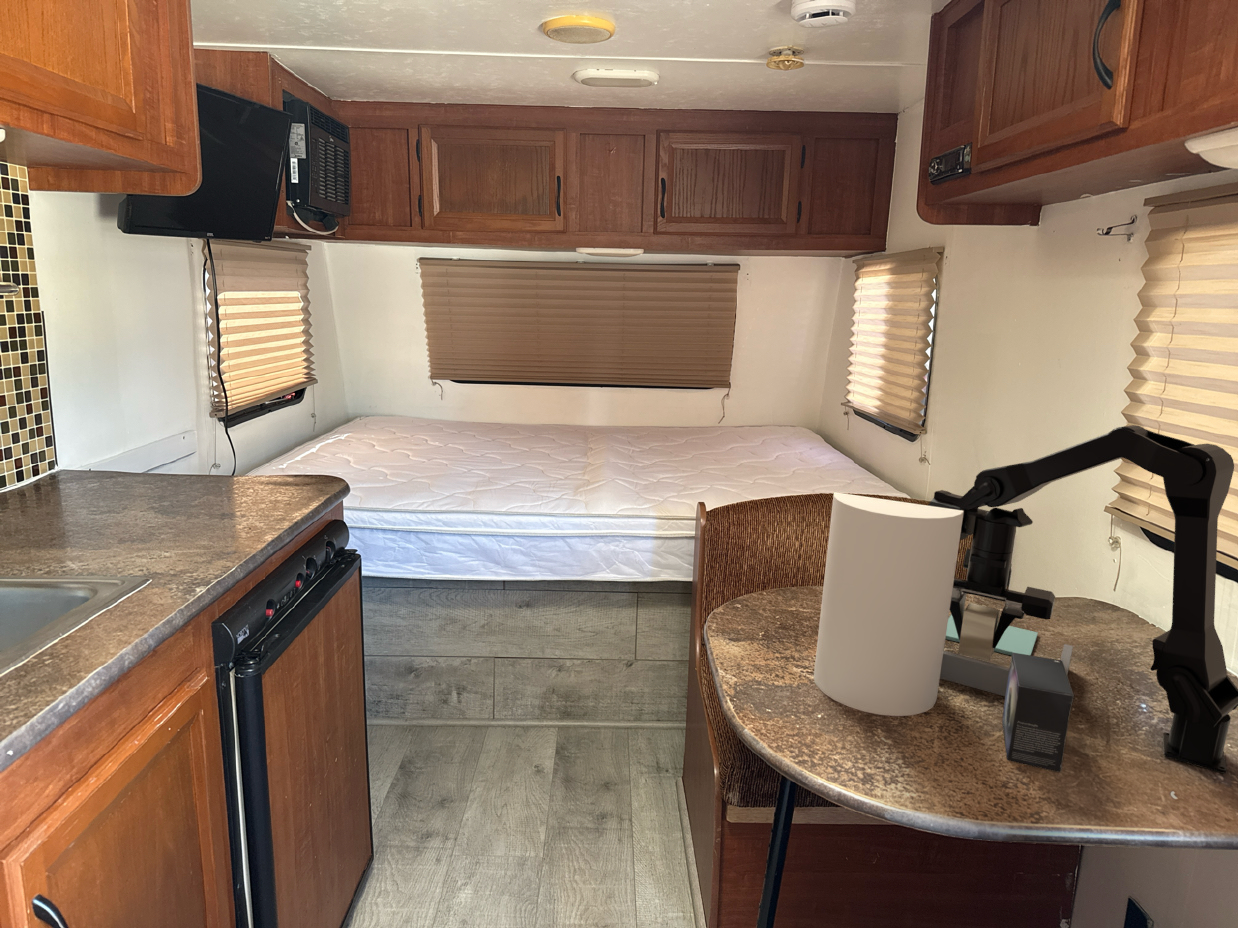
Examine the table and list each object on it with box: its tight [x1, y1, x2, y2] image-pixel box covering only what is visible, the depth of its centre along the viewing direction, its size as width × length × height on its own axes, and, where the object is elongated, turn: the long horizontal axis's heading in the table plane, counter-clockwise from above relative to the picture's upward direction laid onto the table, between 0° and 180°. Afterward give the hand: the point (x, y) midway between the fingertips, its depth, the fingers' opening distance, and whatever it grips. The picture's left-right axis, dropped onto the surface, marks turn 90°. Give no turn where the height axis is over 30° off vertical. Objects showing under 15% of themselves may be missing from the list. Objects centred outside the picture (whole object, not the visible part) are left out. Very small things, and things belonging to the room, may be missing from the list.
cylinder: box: [813, 491, 964, 717], centre depth 115 cm, size 17×17×28 cm
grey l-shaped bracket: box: [940, 643, 1074, 697], centre depth 126 cm, size 16×25×4 cm, turn 57°
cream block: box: [957, 602, 1001, 662], centre depth 125 cm, size 4×4×7 cm
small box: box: [1001, 653, 1075, 773], centre depth 103 cm, size 11×6×10 cm, turn 159°
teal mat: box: [945, 613, 1039, 657], centre depth 138 cm, size 12×14×1 cm
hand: (977, 643), depth 126 cm, fingers closed on cream block, 4 cm apart
